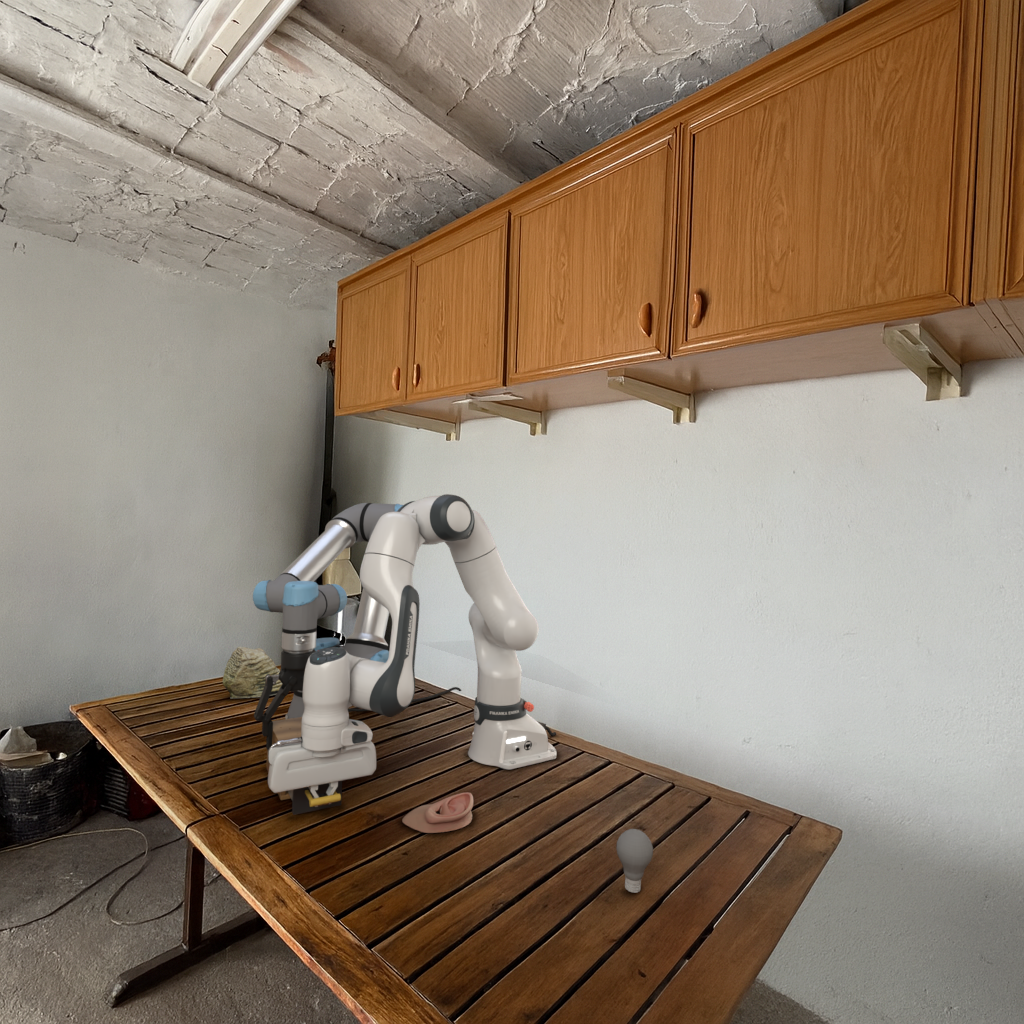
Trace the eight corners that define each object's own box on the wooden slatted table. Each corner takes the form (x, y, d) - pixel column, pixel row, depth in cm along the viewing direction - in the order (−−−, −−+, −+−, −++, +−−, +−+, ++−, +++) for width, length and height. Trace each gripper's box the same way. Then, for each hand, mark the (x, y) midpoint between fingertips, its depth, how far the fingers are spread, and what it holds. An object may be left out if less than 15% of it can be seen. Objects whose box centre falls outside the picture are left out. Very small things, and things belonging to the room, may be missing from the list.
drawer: (349, 818, 124) (351, 771, 124) (299, 829, 119) (301, 781, 119) (322, 774, 142) (323, 734, 142) (277, 782, 137) (279, 741, 137)
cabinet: (332, 790, 137) (334, 739, 137) (280, 800, 131) (282, 747, 131) (313, 760, 151) (315, 715, 151) (266, 768, 146) (268, 721, 146)
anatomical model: (396, 808, 122) (417, 782, 133) (395, 828, 122) (416, 801, 133) (463, 818, 119) (478, 791, 130) (462, 839, 119) (477, 810, 131)
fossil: (218, 695, 195) (220, 647, 195) (278, 685, 208) (279, 640, 207) (228, 703, 189) (230, 653, 188) (289, 692, 201) (290, 645, 201)
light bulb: (610, 879, 108) (613, 822, 108) (644, 879, 109) (647, 822, 109) (619, 902, 102) (622, 840, 102) (655, 901, 103) (658, 840, 103)
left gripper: (246, 658, 135) (243, 760, 136) (353, 649, 147) (350, 743, 147) (241, 650, 142) (238, 748, 142) (344, 642, 154) (341, 732, 154)
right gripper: (271, 748, 115) (268, 823, 115) (380, 731, 125) (377, 800, 125) (265, 736, 120) (263, 808, 121) (370, 721, 131) (368, 787, 131)
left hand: (295, 745), depth 145 cm, fingers closed on cabinet, 11 cm apart
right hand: (322, 804), depth 123 cm, fingers closed, pressing on drawer
